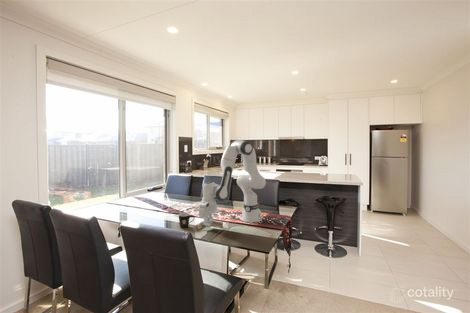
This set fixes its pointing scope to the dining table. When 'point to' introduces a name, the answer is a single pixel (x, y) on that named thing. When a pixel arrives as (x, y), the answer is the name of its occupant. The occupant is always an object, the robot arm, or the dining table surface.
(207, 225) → the bracket
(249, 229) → the dining table surface
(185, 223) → the coffee mug
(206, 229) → the pad
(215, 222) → the corner walls
